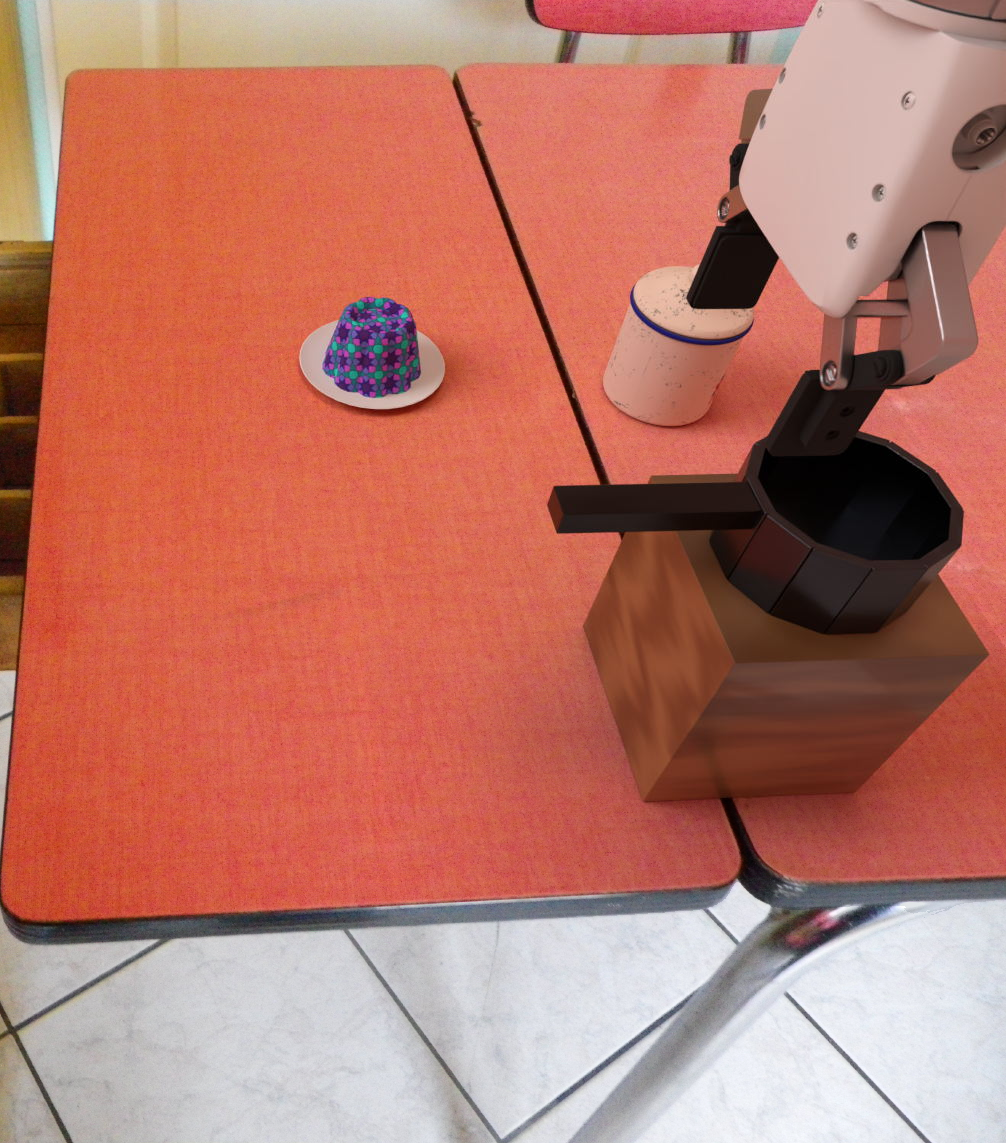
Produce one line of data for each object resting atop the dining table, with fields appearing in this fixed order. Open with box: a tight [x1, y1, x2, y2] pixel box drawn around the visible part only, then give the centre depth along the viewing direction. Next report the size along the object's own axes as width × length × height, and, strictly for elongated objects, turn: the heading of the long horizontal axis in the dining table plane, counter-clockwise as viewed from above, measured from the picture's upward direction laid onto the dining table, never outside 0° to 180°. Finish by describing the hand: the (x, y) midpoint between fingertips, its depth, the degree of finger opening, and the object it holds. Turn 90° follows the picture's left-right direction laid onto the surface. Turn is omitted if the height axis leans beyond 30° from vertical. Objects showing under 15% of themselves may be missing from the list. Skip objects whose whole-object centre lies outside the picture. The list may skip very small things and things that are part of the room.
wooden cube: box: [582, 472, 990, 803], centre depth 61 cm, size 13×13×14 cm
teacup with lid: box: [602, 263, 755, 427], centre depth 82 cm, size 12×9×12 cm
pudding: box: [298, 296, 446, 410], centre depth 85 cm, size 12×12×5 cm
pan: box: [546, 430, 965, 634], centre depth 53 cm, size 20×10×5 cm, turn 93°
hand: (757, 373), depth 46 cm, fingers open, 9 cm apart
